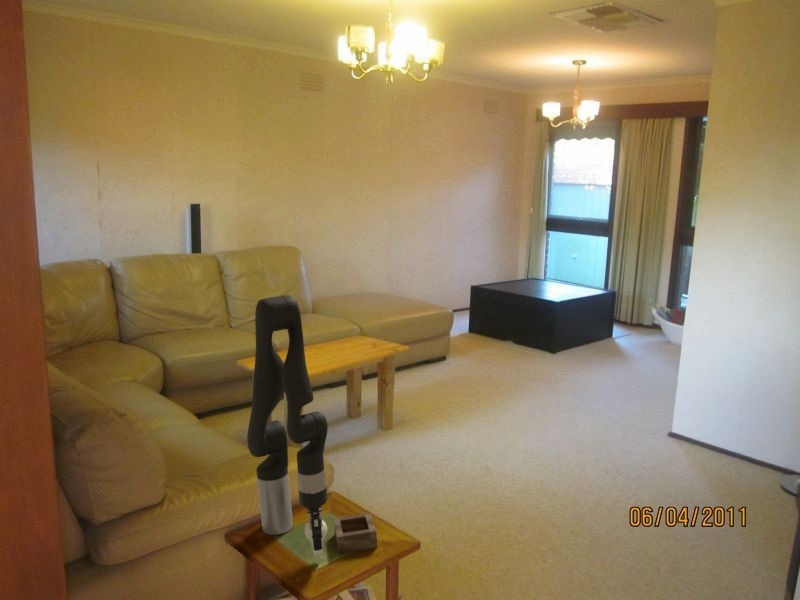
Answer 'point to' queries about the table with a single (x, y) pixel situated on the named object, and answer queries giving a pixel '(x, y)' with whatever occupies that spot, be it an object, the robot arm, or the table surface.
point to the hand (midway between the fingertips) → (317, 543)
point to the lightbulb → (309, 535)
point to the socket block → (355, 533)
